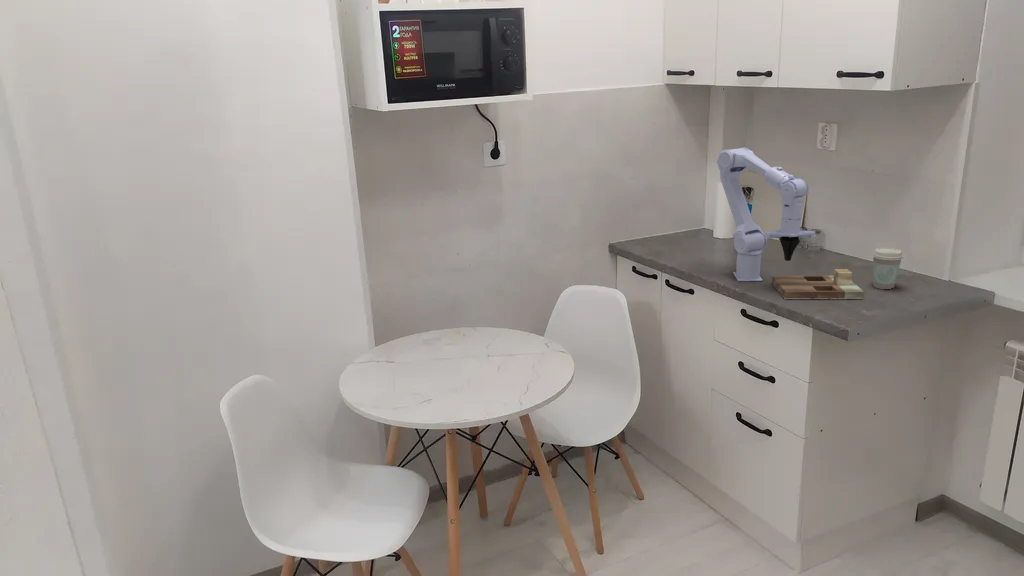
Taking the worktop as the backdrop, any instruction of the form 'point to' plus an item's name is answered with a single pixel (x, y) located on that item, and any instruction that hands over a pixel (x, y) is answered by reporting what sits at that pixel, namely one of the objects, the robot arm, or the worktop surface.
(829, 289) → the board
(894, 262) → the coffee cup
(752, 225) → the robot arm
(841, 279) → the beech block
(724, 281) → the worktop surface
